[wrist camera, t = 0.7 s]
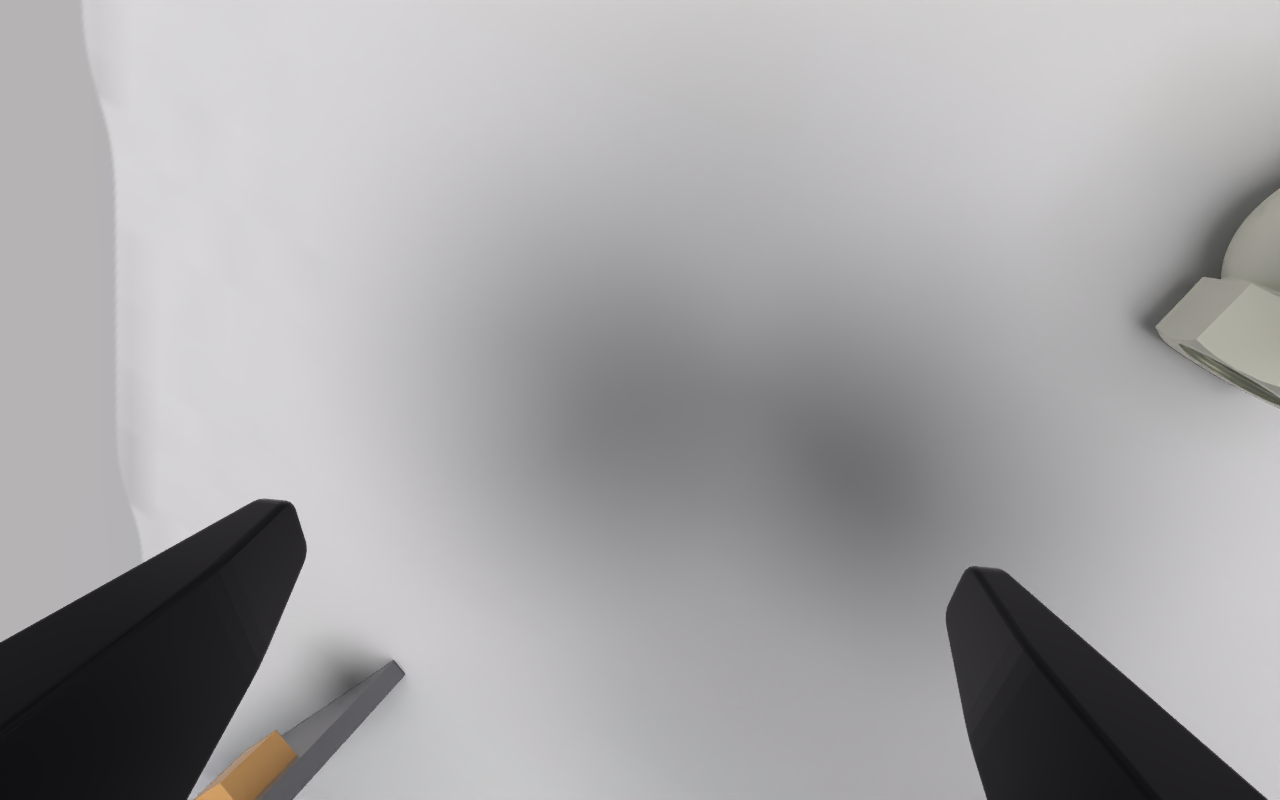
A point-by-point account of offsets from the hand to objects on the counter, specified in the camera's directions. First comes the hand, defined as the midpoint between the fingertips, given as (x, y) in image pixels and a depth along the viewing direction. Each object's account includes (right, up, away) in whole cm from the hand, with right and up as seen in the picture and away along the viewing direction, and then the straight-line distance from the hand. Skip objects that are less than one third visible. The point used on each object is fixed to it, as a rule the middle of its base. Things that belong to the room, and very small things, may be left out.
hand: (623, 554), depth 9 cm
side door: (-16, -13, +22) cm, 30 cm away
